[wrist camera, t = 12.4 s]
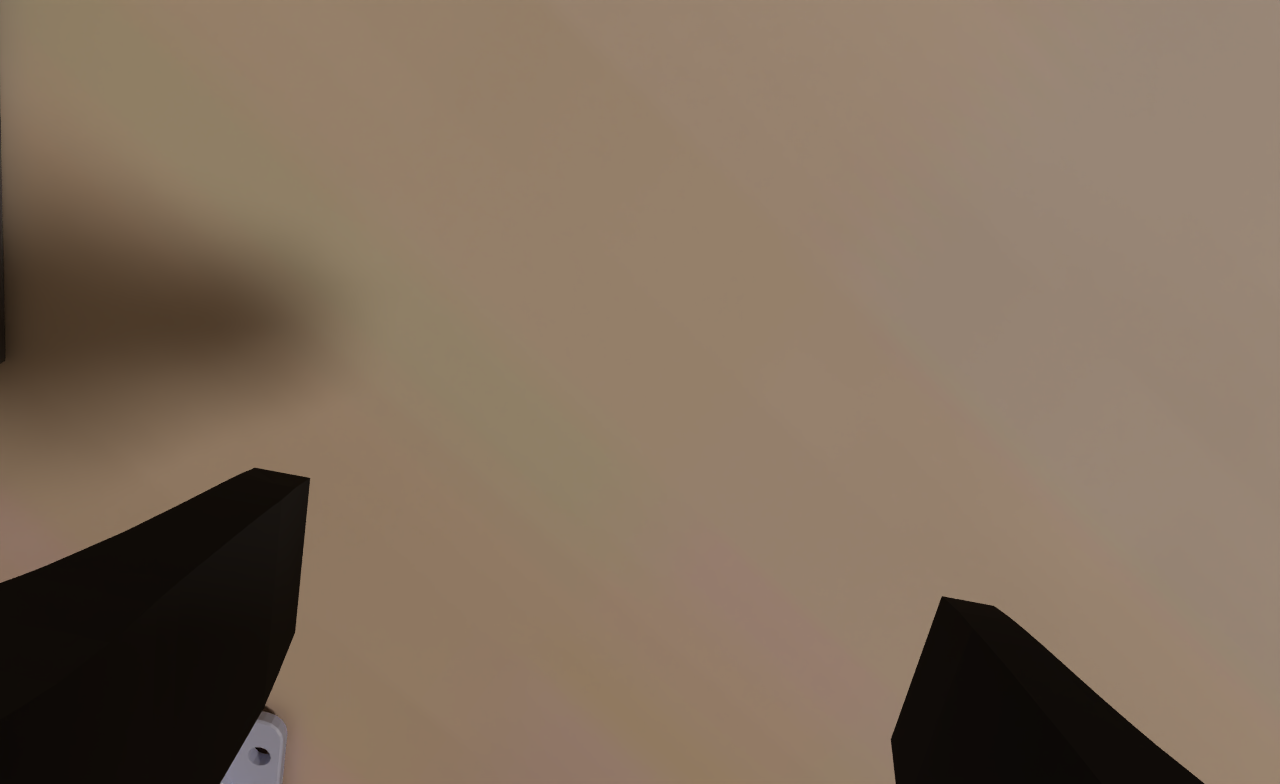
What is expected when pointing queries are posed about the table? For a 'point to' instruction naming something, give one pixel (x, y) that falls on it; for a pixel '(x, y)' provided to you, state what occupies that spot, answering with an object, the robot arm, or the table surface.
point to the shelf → (1, 273)
